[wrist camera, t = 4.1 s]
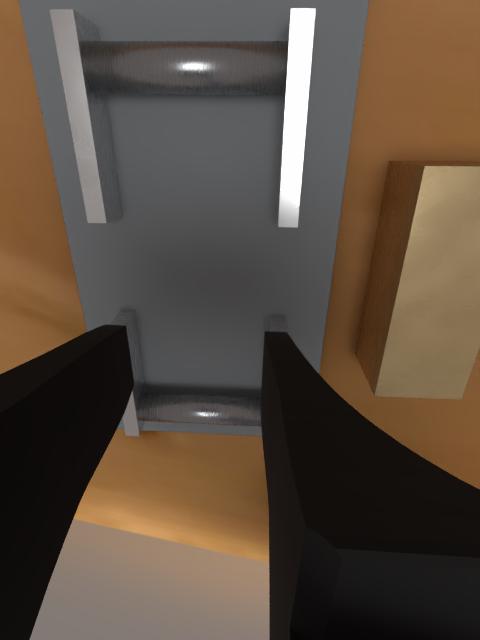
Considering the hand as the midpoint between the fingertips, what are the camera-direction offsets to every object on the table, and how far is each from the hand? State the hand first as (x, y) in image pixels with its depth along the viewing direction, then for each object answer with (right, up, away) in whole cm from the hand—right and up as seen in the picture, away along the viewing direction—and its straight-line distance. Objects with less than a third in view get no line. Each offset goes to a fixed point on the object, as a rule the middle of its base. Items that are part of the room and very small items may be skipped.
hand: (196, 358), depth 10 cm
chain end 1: (-1, +9, +5) cm, 10 cm away
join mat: (-1, +4, +8) cm, 9 cm away
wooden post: (+10, +4, +8) cm, 13 cm away
